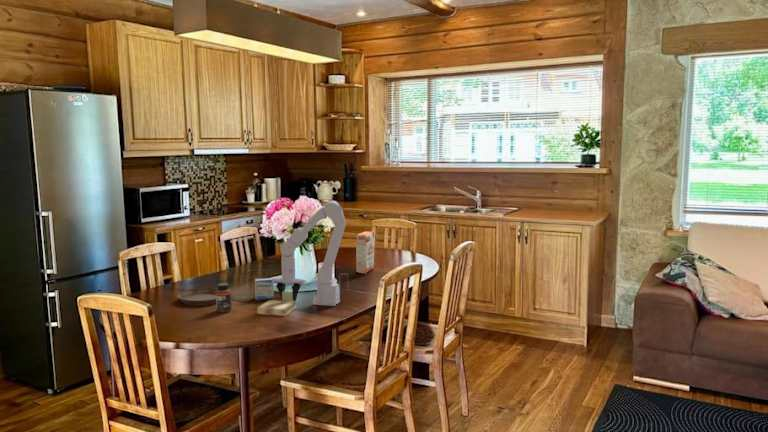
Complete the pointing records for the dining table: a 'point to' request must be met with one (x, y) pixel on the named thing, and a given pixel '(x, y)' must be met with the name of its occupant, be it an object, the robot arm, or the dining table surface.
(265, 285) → the medicine box
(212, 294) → the plant saucer
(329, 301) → the robot arm
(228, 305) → the supplement bottle
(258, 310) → the plinth
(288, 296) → the block
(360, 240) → the cracker box
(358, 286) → the dining table surface
